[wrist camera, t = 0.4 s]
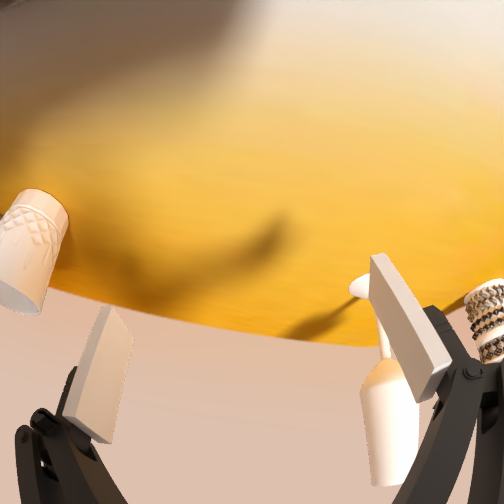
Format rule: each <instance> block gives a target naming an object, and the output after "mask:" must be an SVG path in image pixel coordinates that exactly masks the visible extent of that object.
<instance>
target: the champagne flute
mask: <svg viewBox="0 0 504 504" xmlns="http://www.w3.org/2000/svg"><path fill="white" fill-rule="evenodd" d="M369 278H370V273H368V274H365V275H363V276H361V277H359V278H357V279H356V280H354V281H353V282H352V283H351V284H350V286H349V292H350V293H351V294H352V295H353V296H356V297H360V298H364V299H368V300H369V298H368V294H369ZM374 312H375V310H374ZM375 318H376V325H377V331H378V338H379V345H380V353H381V362H380V363H379V364H377V365H376V366H375V368H374V369H373V370H372V372H371V373H370V374H369V376H368V377H367V378H366V380H365V381H364V383H363V385H362V387H361V390H360V397H361V404H362V409H363V417H364V424H365V430H366V438H367V446H368V455H369V463H370V472H371V484H372V486H391V485H397V484H401V483H404V481H405V479H406V477H407V475H408V473H409V470H410V468H411V466H412V464H413V462H414V460H415V458H416V455H417V451H418V434H419V403H417V404H416V402H415V400H414V397H413V395H412V392H411V390H410V387H409V385H408V383H407V380H406V378H405V375H404V373H403V371H402V369H401V366H400V364H399V362H398V361H395V360H393V359H391V352H390V345H389V340H388V338H387V335H386V333H385V331H384V329H383V327H382V325H381V323H380V321H379V319H378V317H377V314H376V312H375Z"/></svg>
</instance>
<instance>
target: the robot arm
mask: <svg viewBox="0 0 504 504" xmlns="http://www.w3.org/2000/svg"><path fill="white" fill-rule="evenodd" d="M22 1H24V0H0V11H2V10H4V9H7V8H9V7H11V6H14V5H16V4H18V3H20V2H22ZM368 298H369V300H370V302H371V304H372V306H373V308H374V310H375V312H376V314H377V317H378V319H379V321H380V323H381V325H382V327H383V329H384V331H385V333H386V335H387V338H388V340H389V342H390V344H391V346H392V348H393V350H394V353H395V355H396V357H397V359H398V362H399V364H400V366H401V369H402V371H403V373H404V375H405V378H406V380H407V383H408V385H409V387H410V390H411V392H412V395H413V397H414V400H415V402H416V404H417V403H420V402H423V401H425V400H428V399H430V398H432V397H433V395H434V394H435V392H437V394H438V396H439V399H438V401H437V402H436V404H435V405H434V407H433V409H435V410H434V413H433V416H432V418H431V421H430V424H429V426H428V429H427V432H426V434H425V437H424V439H423V442H422V444H421V446H420V449H419V451H418V453H417V455H416V458H415V460H414V462H413V464H412V466H411V468H410V470H409V473H408V475H407V477H406V479H405V481H404V483H403V484H402V486H401V488H400V490H399V492H398V494H397V496H396V497H395V499H394V501H393V503H392V504H446V503H447V501H448V498H449V496H450V494H451V492H452V490H453V487H454V485H455V482H456V480H457V477H458V475H459V472H460V470H461V467H462V464H463V461H464V459H465V455H466V452H467V450H468V446H469V443H470V440H471V437H472V433H473V430H474V426H475V423H476V419H477V433H476V434H477V435H476V448H475V459H474V466H473V474H472V481H471V487H470V493H469V498H468V503H467V504H504V358H503V359H502V361H501V362H496V363H487V364H482V363H481V362H480V361H479V360H477V359H475V358H471V357H470V356H469V354H468V353H467V351H466V349H465V348H464V346H463V344H462V343H461V341H460V339H459V338H458V336H457V335H456V333H455V331H454V330H453V329H452V326H451V325H450V323H448V320H447V319H446V317H445V315H444V314H443V312H442V311H440V310H439V309H438V308H436V307H435V306H434V305H431V306H428V307H425V308H422V307H421V306H420V304H419V303H418V301H417V300H416V298H415V296H414V295H413V293H412V292H411V290H410V289H409V287H408V286H407V284H406V283H405V281H404V280H403V278H402V277H401V275H400V274H399V272H398V271H397V269H396V268H395V267H394V265H393V264H392V262H391V261H390V259H389V258H388V257H387V255H386V254H385V253H380V254H376V255H372V256H370V278H369V294H368ZM134 341H135V339H134V338H133V336H132V335H131V333H130V332H129V330H128V329H127V327H126V326H125V324H124V323H123V321H122V320H121V318H120V316H119V315H118V313H117V312H116V310H115V308H114V307H113V305H111V306H106V307H101V309H100V311H99V314H98V316H97V319H96V321H95V323H94V326H93V328H92V331H91V333H90V336H89V338H88V341H87V343H86V346H85V349H84V351H83V354H82V356H81V359H80V362H79V365H78V366H75V367H74V368H73V370H72V371H71V372H70V374H69V375H68V378H67V381H66V385H65V386H64V390H63V391H64V392H63V393H62V395H61V399H60V402H59V405H58V408H57V411H56V415H55V416H54V415H53V414H52V413H50V412H49V411H48V410H47V409H45V408H40V409H38V410H36V411H35V412H34V413H33V415H32V417H31V420H30V427H32V428H33V429H34V430H33V429H32V428H30V427H29V426H27V425H22V426H20V427H19V428H18V429H17V431H16V434H15V452H16V453H15V454H16V467H17V476H18V485H19V492H20V498H21V504H128V503H127V502H126V500H125V499H124V497H123V496H122V494H121V492H120V491H119V489H118V488H117V486H116V484H115V483H114V481H113V480H112V478H111V476H110V474H109V473H108V471H107V469H106V468H105V466H104V464H103V462H102V460H101V459H100V457H99V455H98V453H97V451H96V449H95V447H94V446H93V444H92V443H90V442H91V438H93V439H94V440H95V441H97V442H98V443H104V444H112V438H113V432H114V427H115V422H116V418H117V413H118V408H119V403H120V398H121V394H122V390H123V385H124V381H125V376H126V373H127V368H128V364H129V360H130V356H131V353H132V349H133V345H134ZM41 461H42V462H43V463H44V467H42V466H41Z"/></svg>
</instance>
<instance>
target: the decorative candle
mask: <svg viewBox="0 0 504 504" xmlns="http://www.w3.org/2000/svg"><path fill="white" fill-rule="evenodd" d="M464 303H465V304H466V311H467V313H468V314H469V316H468V320H469V321H470V322H471V323H473V324H472V326H471V328H470V329H471V330H472V331H473V332H475V333H474V335H473V337H472V338H473V339H474V340H475V341H476V346H477V350H478V351H479V354H480V360H481V363H482V364H487V363H496V362H501V361H502V359H503V358H504V279H501V278H498V279H492V280H490V281H487V282H484V283H483V284H481V285H479V286H477V287H475V288H474V289H473V290H471V291H470V292H469V293H468V294H467V295H466V296H465V298H464Z"/></svg>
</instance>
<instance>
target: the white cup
mask: <svg viewBox="0 0 504 504" xmlns="http://www.w3.org/2000/svg"><path fill="white" fill-rule="evenodd" d="M68 225H69V221H68V214H67V212H66V211H65V209H64V207H63V206H62V204H61V203H60V202H58V201H57V200H56V199H55V198H54V197H53V196H52V195H50V194H48V193H46V192H44V191H41V190H39V189H26V190H24V191H22V192H20V193H19V195H18V196H17V198H16V199H15V201H14V202H13V204H12V205H11V207H10V208H9V210H8V211H7V212H6V214H5V215H4V216H3V217H2V219H1V221H0V304H1V305H3V306H5V307H6V308H9V309H11V310H13V311H15V312H18V313H21V314H24V315H29V316H37V315H39V314H40V313H41V310H42V306H43V302H44V299H45V295H46V292H47V288H48V285H49V282H50V279H51V276H52V272H53V269H54V266H55V263H56V259H57V257H58V254H59V251H60V246H61V242H62V240H63V237H64V235H65V232H66V230H67V228H68Z"/></svg>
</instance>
